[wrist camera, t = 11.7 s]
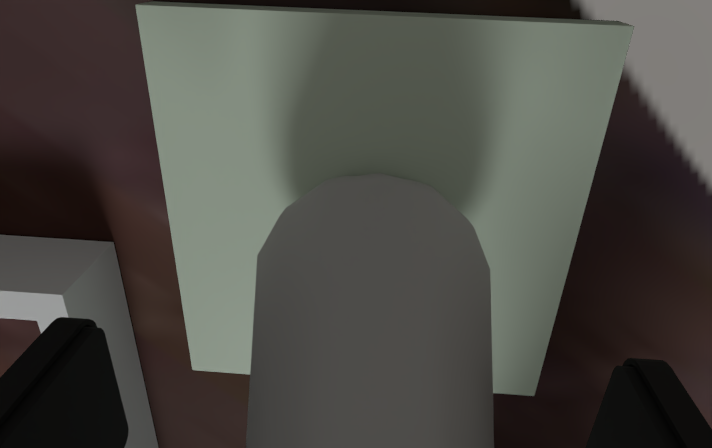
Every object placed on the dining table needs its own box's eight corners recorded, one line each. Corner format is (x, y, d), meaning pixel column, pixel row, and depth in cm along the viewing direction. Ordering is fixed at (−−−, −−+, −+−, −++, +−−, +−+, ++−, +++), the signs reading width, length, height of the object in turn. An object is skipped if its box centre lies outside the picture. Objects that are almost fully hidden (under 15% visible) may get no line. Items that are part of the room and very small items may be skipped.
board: (618, 21, 13) (634, 26, 12) (527, 374, 19) (534, 396, 18) (152, 1, 14) (135, 4, 13) (202, 350, 19) (192, 369, 18)
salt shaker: (272, 134, 14) (-235, 1085, 2) (487, 147, 14) (1020, 1179, 2) (278, 308, 17) (61, 1114, 5) (456, 318, 17) (625, 1156, 5)
